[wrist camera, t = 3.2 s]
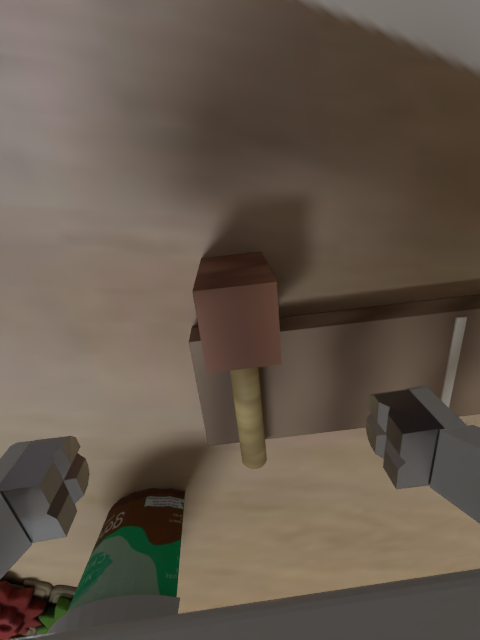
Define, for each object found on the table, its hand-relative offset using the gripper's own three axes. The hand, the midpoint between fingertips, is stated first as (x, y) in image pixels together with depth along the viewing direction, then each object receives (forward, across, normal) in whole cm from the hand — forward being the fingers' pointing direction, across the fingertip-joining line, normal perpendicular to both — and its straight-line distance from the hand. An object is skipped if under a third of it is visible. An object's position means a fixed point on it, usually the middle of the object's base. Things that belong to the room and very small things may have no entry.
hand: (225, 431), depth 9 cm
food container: (+12, +10, +19) cm, 25 cm away
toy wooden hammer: (+12, -1, +4) cm, 12 cm away
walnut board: (+12, -8, +6) cm, 15 cm away
